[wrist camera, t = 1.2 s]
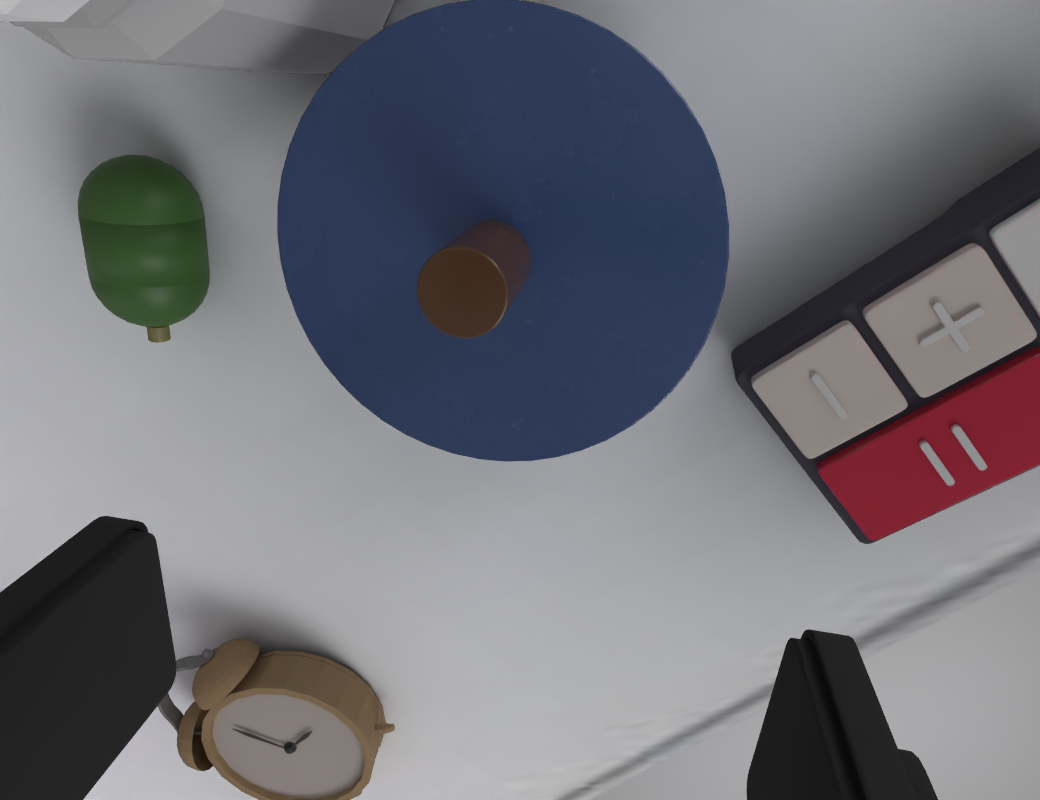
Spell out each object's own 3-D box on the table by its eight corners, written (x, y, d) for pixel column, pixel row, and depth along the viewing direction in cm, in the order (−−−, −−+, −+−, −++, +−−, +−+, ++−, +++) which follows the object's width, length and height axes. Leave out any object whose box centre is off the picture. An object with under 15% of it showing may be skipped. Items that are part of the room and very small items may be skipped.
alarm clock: (347, 831, 48) (122, 776, 45) (361, 764, 52) (156, 710, 49) (402, 729, 43) (153, 661, 40) (412, 665, 47) (189, 599, 45)
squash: (121, 146, 34) (38, 153, 30) (220, 156, 34) (152, 166, 29) (144, 317, 38) (74, 349, 33) (235, 330, 37) (176, 364, 33)
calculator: (732, 382, 30) (1110, 150, 24) (725, 347, 34) (1051, 139, 28) (867, 558, 33) (1244, 387, 26) (847, 507, 36) (1172, 347, 30)
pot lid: (281, -16, 22) (171, -50, 17) (773, 25, 21) (818, 0, 15) (301, 417, 28) (225, 488, 23) (680, 475, 27) (689, 565, 22)
